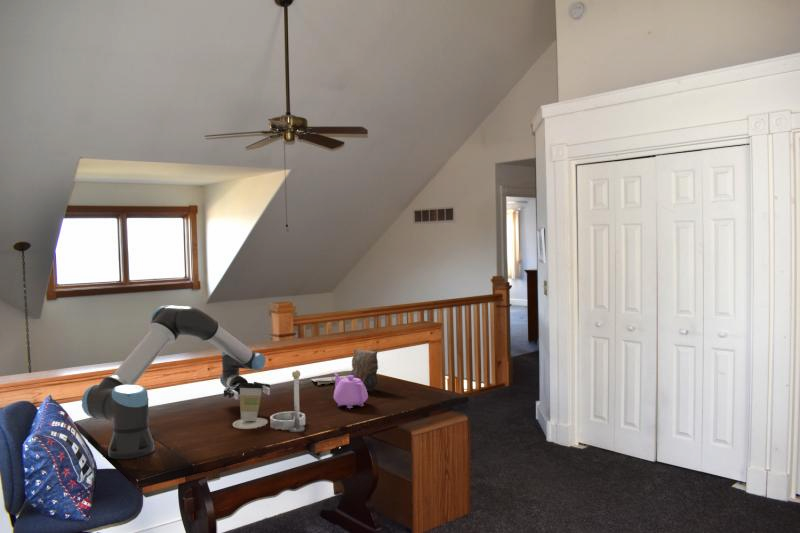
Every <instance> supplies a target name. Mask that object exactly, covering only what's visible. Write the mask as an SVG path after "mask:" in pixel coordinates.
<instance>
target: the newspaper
mask: <svg viewBox="0 0 800 533" xmlns="http://www.w3.org/2000/svg"><path fill="white" fill-rule="evenodd" d="M348 375H349V374H348ZM348 375H347V374H346V375H339V377H340V380H341V379H344V378H347V376H348ZM311 381H314V382H317V383H316V384H317V386H322V385H321V384H325V385H331V384H330V383H333V384H335V383H336V377H335V376H328V377H327V376H326V377H318V378H311V379H310V382H311Z"/></svg>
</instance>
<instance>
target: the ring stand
mask: <svg viewBox="0 0 800 533" xmlns="http://www.w3.org/2000/svg"><path fill="white" fill-rule="evenodd" d="M291 373H292V374H291V375H292V377H293V409H294V410H293V411H280V412H276V413H272V415H270V417H269V423H270V424H269V425H270V428H271V429H273V428H274V429H273V430H278V429H281V430H282V431H286V430H287V431H289V432H290V433H293V434H296V433H298V432H299V433H303V432H305V426H306V414H305V413H303V412H301V411H300V384H299V383H300V376H301V372H300V370H297V369H295V370H293V371H292V372H291ZM281 430H280V431H281Z"/></svg>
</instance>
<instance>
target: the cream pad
mask: <svg viewBox="0 0 800 533" xmlns="http://www.w3.org/2000/svg"><path fill="white" fill-rule="evenodd" d="M268 423H269V422H268V419H266V418H263V417H257V420H256V421H242V420H241V418H240V419H238V420H235V421H234V422H232V427H233V428H235V429H239V430H251V429H253V428H254V429H257V428H258V427H259V428H261V427H262V426H263V427H264V426H266V424H267V425H268Z"/></svg>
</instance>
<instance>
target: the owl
mask: <svg viewBox="0 0 800 533" xmlns="http://www.w3.org/2000/svg"><path fill="white" fill-rule="evenodd" d="M353 352H354V354H353V357H352V358H351V368H352V369H351V373H350V375H353V376H354V378H359V379H360V380H361V381H362V382H363V384H364V385H365V387H366V389H367V391H370V392H374V391H373V390H375V391H376V386H378V375H377V373H378V369H379V362H378V361H379V360H378V351H374V350H372V349H367V350H365V349H364V350H361V349H354V350H353Z"/></svg>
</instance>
